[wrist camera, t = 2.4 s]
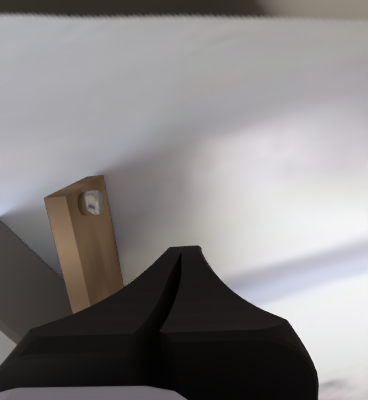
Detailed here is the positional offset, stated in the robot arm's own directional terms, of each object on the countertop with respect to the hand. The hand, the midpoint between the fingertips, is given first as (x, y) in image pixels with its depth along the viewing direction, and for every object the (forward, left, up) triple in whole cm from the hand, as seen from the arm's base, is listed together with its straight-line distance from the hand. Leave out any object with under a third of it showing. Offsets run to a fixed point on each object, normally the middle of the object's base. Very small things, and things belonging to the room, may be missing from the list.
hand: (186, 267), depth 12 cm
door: (+1, +6, -6) cm, 8 cm away
